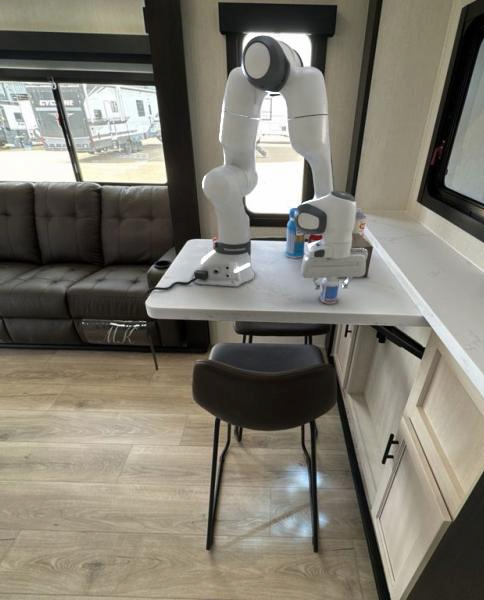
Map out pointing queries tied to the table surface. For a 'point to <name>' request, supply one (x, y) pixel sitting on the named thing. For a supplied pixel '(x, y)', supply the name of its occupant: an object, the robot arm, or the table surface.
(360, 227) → the aerosol can
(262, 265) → the table surface
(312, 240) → the soda can
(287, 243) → the beverage bottle
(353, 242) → the cupboard
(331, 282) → the pill bottle
